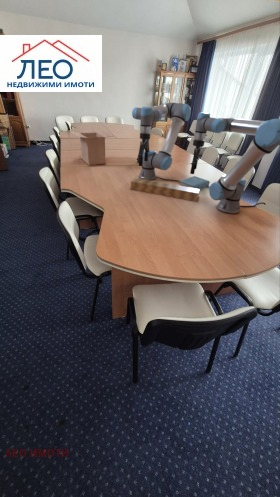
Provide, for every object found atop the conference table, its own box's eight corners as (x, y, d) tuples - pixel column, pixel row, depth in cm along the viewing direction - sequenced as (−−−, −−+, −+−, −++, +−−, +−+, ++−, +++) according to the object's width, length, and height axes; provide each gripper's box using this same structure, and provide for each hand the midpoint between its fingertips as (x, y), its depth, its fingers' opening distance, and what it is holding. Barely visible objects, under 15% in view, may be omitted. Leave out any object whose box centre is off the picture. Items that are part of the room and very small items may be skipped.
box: (116, 165, 229) (116, 136, 213) (83, 168, 214) (80, 137, 198) (102, 154, 259) (101, 128, 243) (71, 156, 244) (68, 129, 228)
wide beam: (130, 189, 180) (131, 181, 176) (134, 185, 187) (135, 177, 183) (196, 201, 168) (198, 193, 164) (198, 197, 175) (200, 189, 172)
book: (193, 181, 204) (194, 176, 201) (208, 186, 195) (209, 181, 192) (178, 186, 191) (179, 181, 188) (193, 192, 182) (195, 186, 179)
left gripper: (145, 136, 147) (143, 168, 159) (154, 130, 166) (152, 159, 179) (134, 134, 148) (133, 167, 161) (145, 129, 167) (143, 158, 180)
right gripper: (203, 143, 138) (196, 177, 150) (206, 137, 158) (200, 167, 170) (191, 141, 140) (185, 175, 152) (195, 136, 159) (190, 166, 172)
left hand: (143, 163), depth 170 cm, fingers open, 13 cm apart
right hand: (193, 171), depth 161 cm, fingers open, 13 cm apart
